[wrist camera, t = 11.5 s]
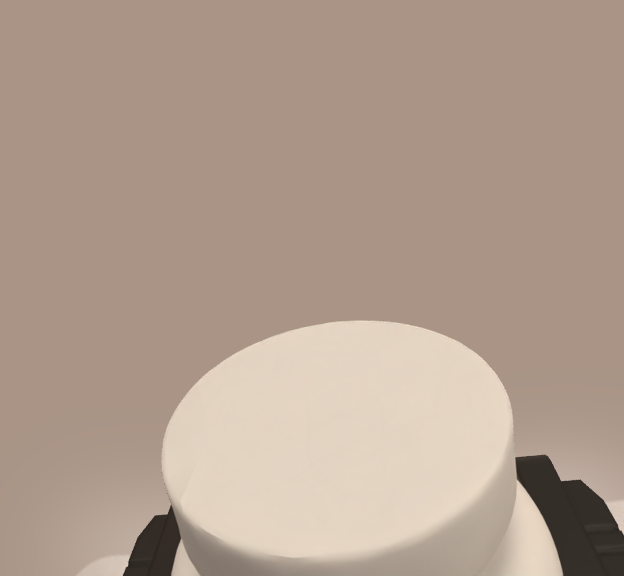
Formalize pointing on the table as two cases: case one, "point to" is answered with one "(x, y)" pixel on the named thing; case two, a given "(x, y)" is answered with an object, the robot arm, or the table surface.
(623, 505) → the table surface
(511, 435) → the pill bottle
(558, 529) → the robot arm
